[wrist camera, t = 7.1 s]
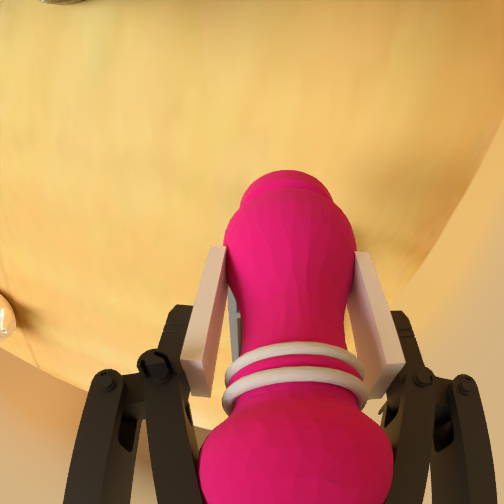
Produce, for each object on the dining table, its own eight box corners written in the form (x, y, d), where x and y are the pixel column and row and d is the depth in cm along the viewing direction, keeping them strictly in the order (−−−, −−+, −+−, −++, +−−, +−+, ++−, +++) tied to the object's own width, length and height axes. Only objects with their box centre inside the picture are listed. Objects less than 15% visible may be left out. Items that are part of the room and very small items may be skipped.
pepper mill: (209, 205, 20) (108, 562, 4) (297, 138, 17) (358, 631, 1) (277, 272, 23) (268, 571, 7) (360, 221, 20) (443, 555, 4)
